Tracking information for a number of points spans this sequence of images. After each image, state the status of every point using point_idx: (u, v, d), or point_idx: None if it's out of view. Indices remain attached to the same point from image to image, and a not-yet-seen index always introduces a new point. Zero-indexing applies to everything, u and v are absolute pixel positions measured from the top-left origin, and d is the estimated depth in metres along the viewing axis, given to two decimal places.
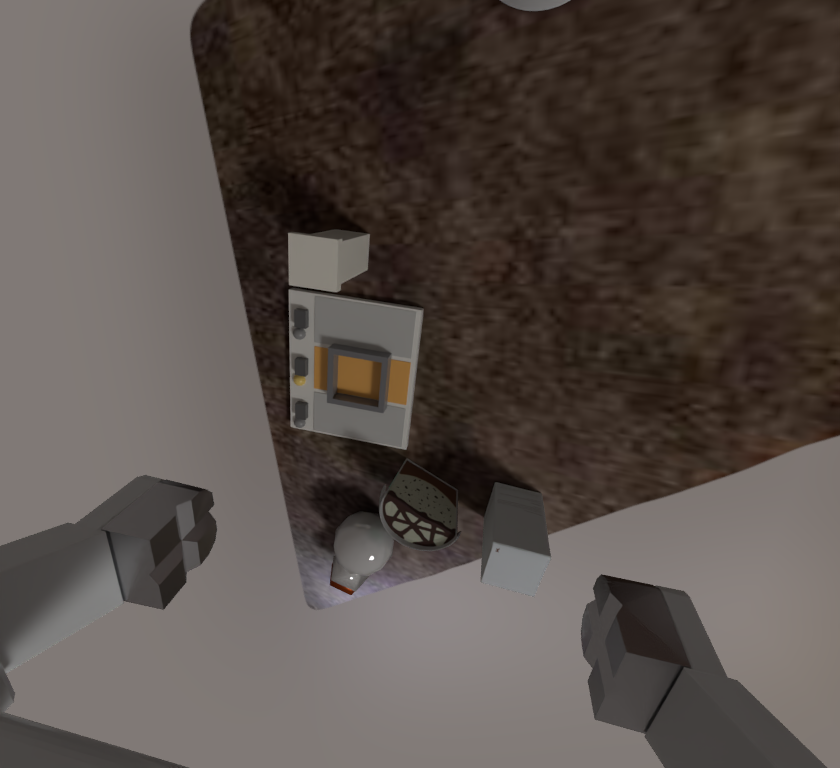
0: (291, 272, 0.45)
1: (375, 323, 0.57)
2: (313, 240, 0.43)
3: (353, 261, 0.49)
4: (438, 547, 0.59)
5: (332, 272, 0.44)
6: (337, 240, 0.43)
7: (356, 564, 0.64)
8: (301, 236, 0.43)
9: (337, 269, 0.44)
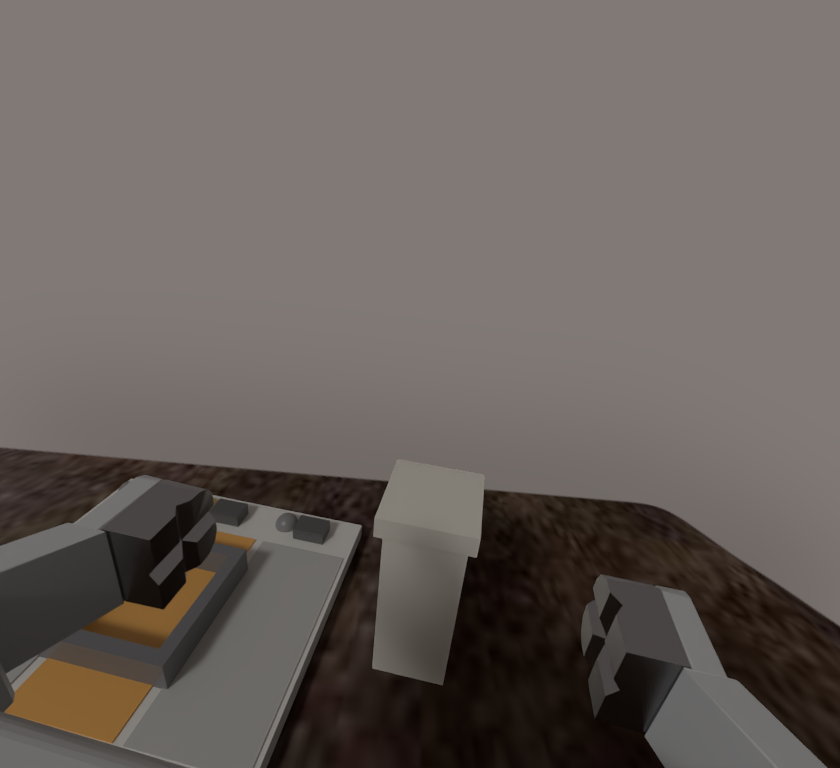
0: (418, 465, 0.25)
1: (256, 660, 0.25)
2: (475, 502, 0.23)
3: (410, 607, 0.24)
4: None
5: (416, 519, 0.21)
6: (478, 538, 0.21)
7: None
8: (481, 489, 0.24)
9: (420, 528, 0.21)
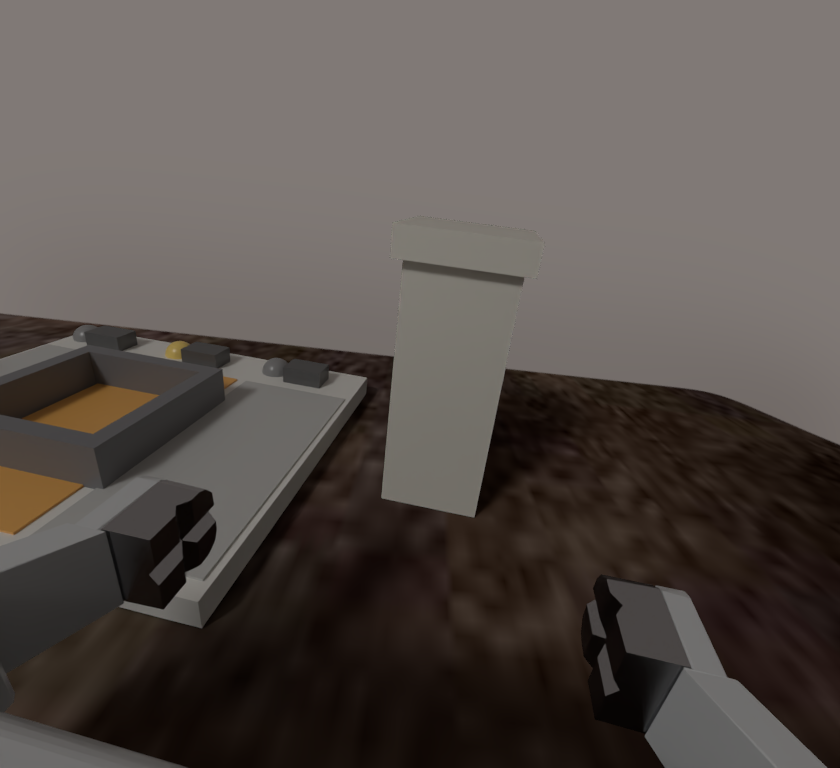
0: (447, 220, 0.19)
1: (229, 472, 0.19)
2: (529, 234, 0.17)
3: (435, 389, 0.18)
4: None
5: (451, 228, 0.15)
6: (541, 243, 0.14)
7: None
8: (533, 232, 0.18)
9: (457, 233, 0.15)
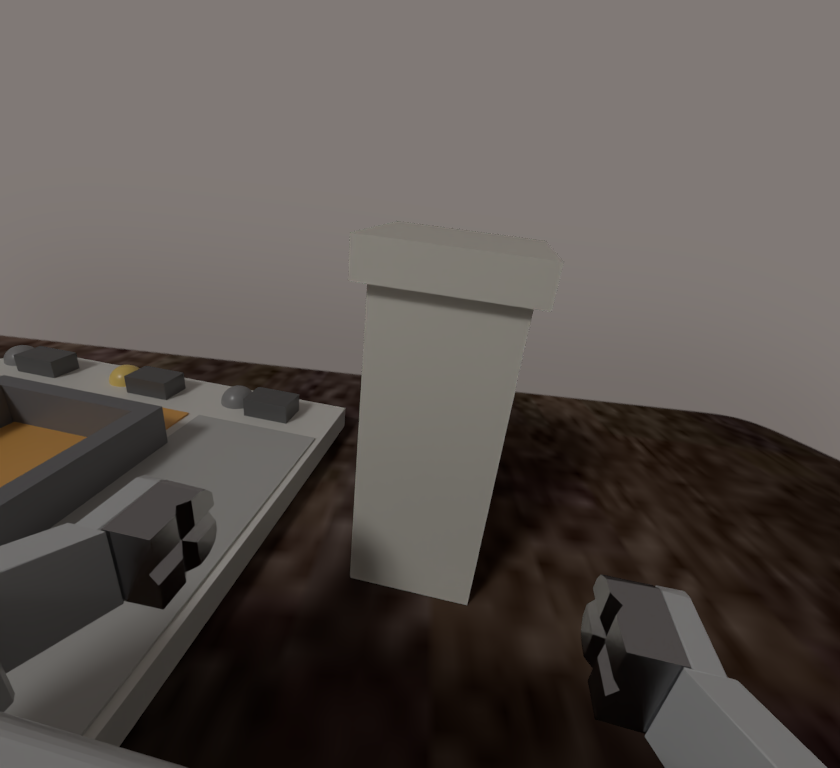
0: (433, 226, 0.15)
1: None
2: (539, 247, 0.12)
3: (415, 450, 0.13)
4: None
5: (432, 241, 0.11)
6: (559, 263, 0.10)
7: None
8: (544, 244, 0.14)
9: (441, 248, 0.10)
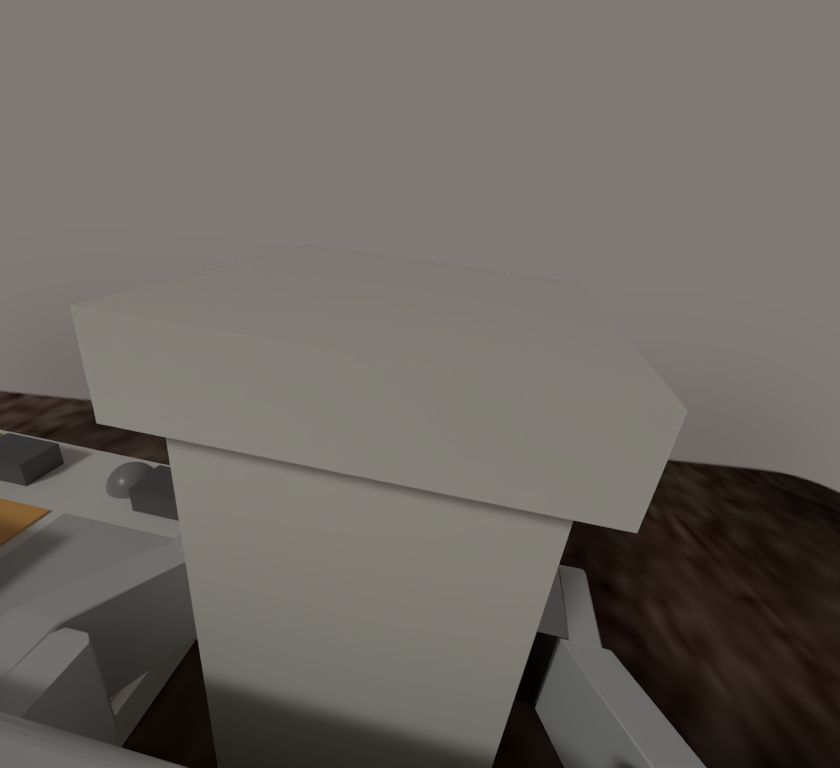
0: (370, 255, 0.08)
1: None
2: (579, 315, 0.06)
3: (319, 724, 0.06)
4: None
5: (307, 325, 0.04)
6: (668, 409, 0.03)
7: None
8: (585, 298, 0.07)
9: (316, 357, 0.04)
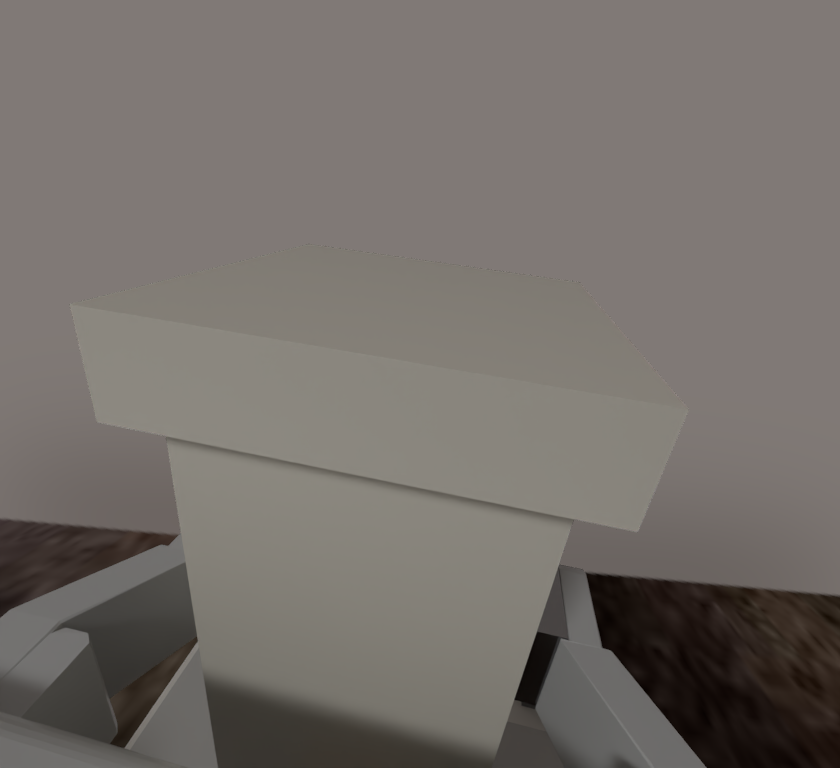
0: (370, 255, 0.08)
1: None
2: (580, 314, 0.06)
3: (320, 724, 0.06)
4: None
5: (307, 324, 0.04)
6: (669, 408, 0.03)
7: None
8: (584, 297, 0.07)
9: (318, 356, 0.04)
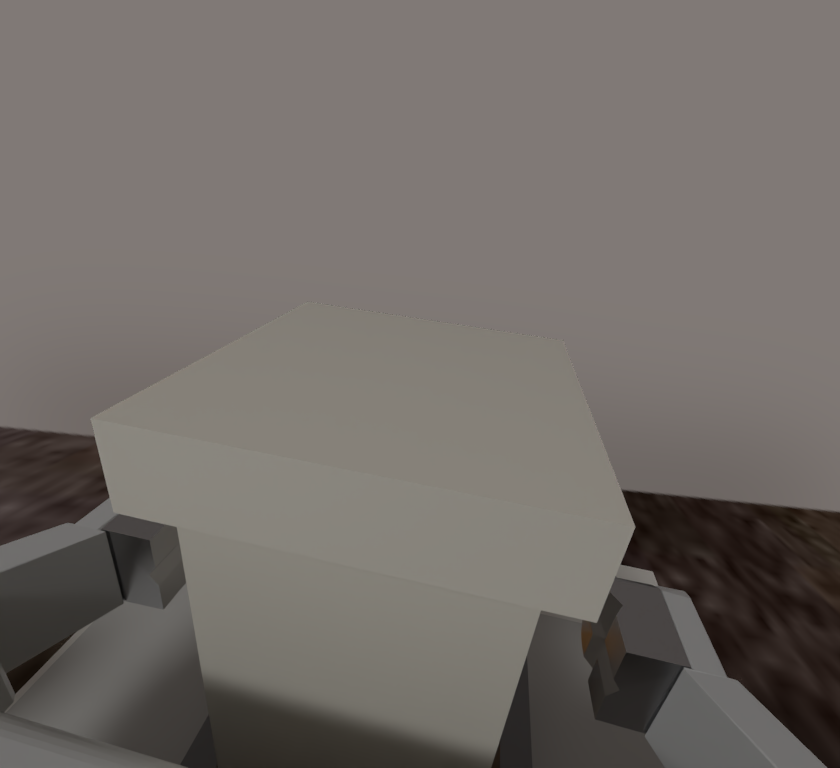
0: (365, 314, 0.09)
1: None
2: (556, 393, 0.06)
3: (318, 766, 0.07)
4: None
5: (302, 430, 0.04)
6: (620, 522, 0.04)
7: None
8: (565, 366, 0.07)
9: (309, 469, 0.04)
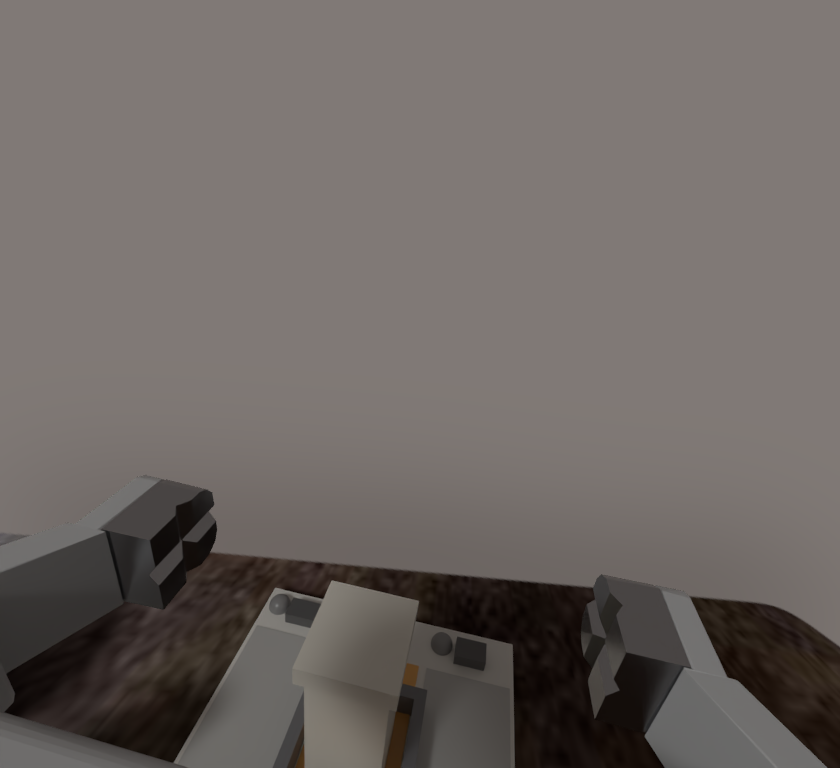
0: (352, 589, 0.25)
1: None
2: (402, 642, 0.22)
3: (336, 743, 0.23)
4: None
5: (335, 668, 0.21)
6: (397, 694, 0.20)
7: None
8: (411, 622, 0.23)
9: (338, 681, 0.20)
